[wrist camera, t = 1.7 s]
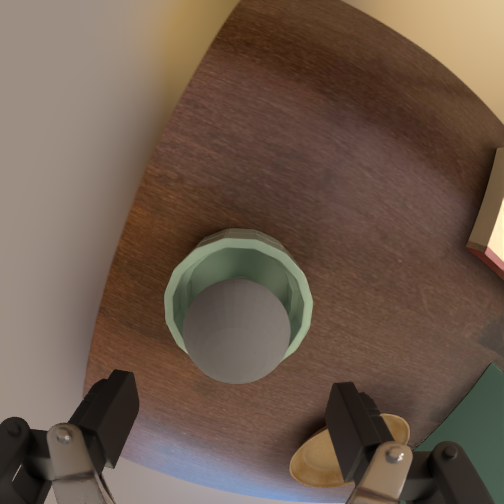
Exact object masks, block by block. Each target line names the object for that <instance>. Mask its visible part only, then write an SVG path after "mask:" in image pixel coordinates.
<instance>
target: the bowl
mask: <svg viewBox="0 0 504 504" xmlns="http://www.w3.org/2000/svg"><path fill="white" fill-rule="evenodd" d="M239 275H240V276H246V277H248V278H250V279H251V280H252V281H253V282H256V283H258V284H260V285H262V286H264V287H266V288H267V289H268V290H270V291H271V292H272V293H274V294H275V296H276V297H277V298H278V299H279V300H280V301H281V303H282V304H283V306H284V308H285V310H286V312H287V315H288V318H289V322H290V330H291V335H290V341H289V346H288V348H287V351H286V353H285V355H284V357H283V359H282V360H284V359H285V358H286V357H288V356H289V355H290V354H292V353H293V352H294V351H295V350H296V349H297V348H298V346H299V344H300V343H301V341H302V340H303V338H304V336H305V335H306V333H307V331H308V330H309V327H310V322H311V315H312V307H313V299H312V296H311V292H310V289H309V286H308V283H307V279H306V276H305V275H304V273H303V271H302V270H301V268H300V267H299V265H298V264H297V262H296V261H295V259H294V258H293V256H292V255H291V254H290V253H289V252H288V251H287V250H286V248H285V247H284V246H283V245H282V244H281V243H280V242H279V241H278V240H277V239H275V238H273V237H270V236H268V235H266V234H264V233H262V232H260V231H258V230H255V229H241V228H228V229H225V230H222V231H220V232H217V233H214V234H211V235H209V236H206V237H204V238H203V239H202V240H201V241H200V242H199V243H198V244H197V245H196V246H195V247H194V248H193V249H192V250H191V251H190V252H189V253H188V254H187V255H186V256H185V257H184V258H183V259H182V261H181V262H180V263H179V264H178V265H177V266H176V267H175V269H174V270H173V273H172V275H171V278H170V280H169V283H168V286H167V288H166V291H165V293H164V304H165V320H166V323H167V325H168V327H169V329H170V331H171V333H172V335H173V337H174V339H175V341H176V343H177V345H178V346H179V347H181V348H182V349H183V350H184V351H185V352H186V353H187V354H188V352H187V350H186V348H185V344H184V340H183V320H184V316H185V314H186V311H187V309H188V307H189V305H190V303H191V302H192V301H193V300H194V298H195V297H196V296H197V295H198V294H199V293H200V292H201V291H202V290H204V289H205V288H206V287H208V286H210V285H212V284H214V283H216V282H219V281H223V280H226V279H230V278H231V277H234V276H239ZM282 360H281V361H282Z"/></svg>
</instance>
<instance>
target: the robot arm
mask: <svg viewBox="0 0 504 504" xmlns="http://www.w3.org/2000/svg"><path fill="white" fill-rule="evenodd" d="M138 411H139V397H138V393H137V388H136V383H135V378H134V374H133V373H132V372H128V371H122V370H117V369H115V370H114V371H113V372H112V373H111V375H110V376H109V378H108V379H101V380H100V381H98V382H97V383H95V384H94V385H93V386H92V388H91V389H90V390H89V392H88V394H87V395H86V396H85V398H84V400H83V401H82V402H81V403H80V405H79V407H78V408H77V409H76V411H75V412H74V414H73V415H72V417H71V418H70V420H69V421H68V423H59V424H56V425H54V426H52V427H51V428H50V429H49V431H43V430H35V429H30V427H29V425H28V424H27V422H26V421H25V420H24V419H22V418H19V417H11V418H7V419H6V420H4V421H3V422H2V423H1V424H0V504H44V501H45V499H46V497H47V494H48V492H49V490H50V488H51V486H53V490H54V493H55V497H56V500H57V503H58V504H116V503H115V501H114V498H113V497H112V494H111V492H110V490H109V488H108V486H107V483H106V481H105V479H104V476H103V474H102V471H103V468H104V466H105V467H109V468H112V469H114V468H115V466H116V463H117V461H118V459H119V456H120V454H121V451H122V449H123V447H124V444H125V442H126V440H127V437H128V435H129V433H130V430H131V428H132V426H133V423H134V421H135V419H136V417H137V414H138ZM325 420H326V425H327V428H328V431H329V435H330V438H331V441H332V444H333V447H334V451H335V454H336V457H337V460H338V463H339V467H340V470H341V473H342V477H343V480H344V482H349V481H354V482H355V485H356V486H355V488H354V490H353V491H352V493H351V495H350V497H349V498H348V500H347V502H346V503H345V504H400V501H405V502H406V504H495V502H494V501H493V499H492V497H491V495H490V493H489V492H488V490H487V488H486V486H485V484H484V483H483V481H482V479H481V478H480V476H479V474H478V472H477V471H476V469H475V467H474V466H473V464H472V462H471V461H470V459H469V457H468V456H467V454H466V453H465V451H464V449H463V448H462V447H461V446H460V445H459V444H457V443H455V442H452V441H443V442H440V443H438V444H437V445H436V446H435V447H434V449H433V450H432V451H411V449H410V448H409V447H408V446H407V445H406V444H404V443H402V442H398V441H395V440H394V438H393V436H392V434H391V432H390V430H389V428H388V427H387V425H386V423H385V421H384V419H383V417H382V416H381V414H380V412H379V410H377V406H376V405H375V403H374V401H373V399H372V398H370V397H369V396H368V395H367V394H365V393H364V392H362V393H358V391H357V389H356V387H355V385H354V384H353V382H342V383H334V384H333V386H332V389H331V393H330V396H329V400H328V404H327V408H326V413H325ZM20 465H21V467H20V469H19V471H18V473H17V475H16V477H15V478H14V480H13V477H14V475H15V474H16V472H17V470H18V468H19V466H20ZM12 480H13V482H12Z"/></svg>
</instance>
